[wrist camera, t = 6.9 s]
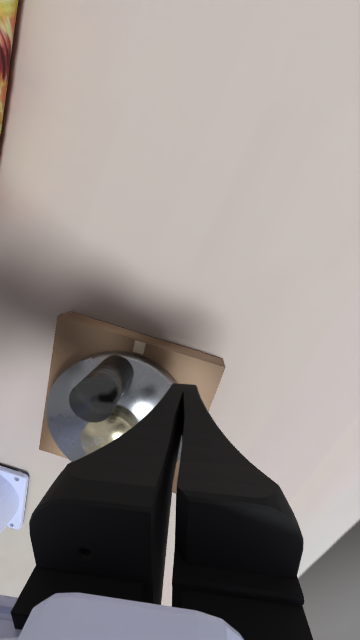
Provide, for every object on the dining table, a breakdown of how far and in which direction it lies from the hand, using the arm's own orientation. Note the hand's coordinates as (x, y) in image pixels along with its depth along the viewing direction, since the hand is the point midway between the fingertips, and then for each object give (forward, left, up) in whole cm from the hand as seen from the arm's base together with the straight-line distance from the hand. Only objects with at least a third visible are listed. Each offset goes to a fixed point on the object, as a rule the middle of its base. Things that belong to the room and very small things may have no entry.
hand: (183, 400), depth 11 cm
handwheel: (-4, -6, -4) cm, 8 cm away
